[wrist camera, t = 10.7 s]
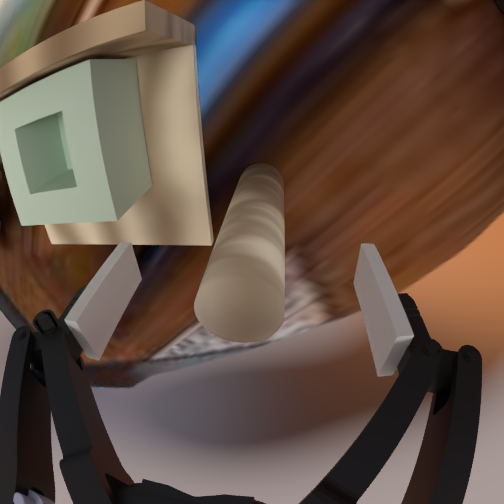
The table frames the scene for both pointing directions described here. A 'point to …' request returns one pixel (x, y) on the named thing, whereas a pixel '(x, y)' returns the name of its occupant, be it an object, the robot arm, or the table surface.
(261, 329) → the dowel
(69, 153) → the sliding block
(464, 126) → the table surface
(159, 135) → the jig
